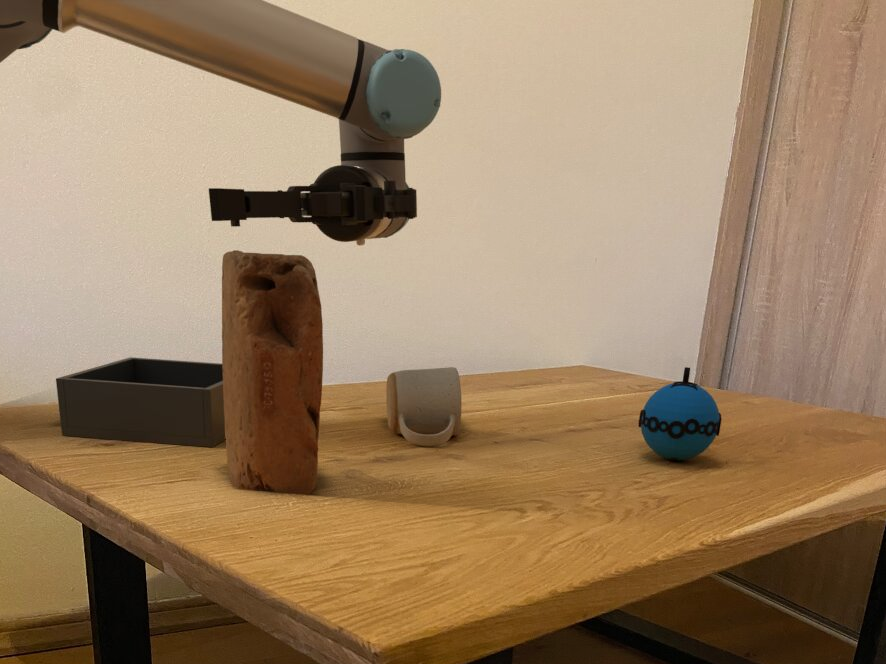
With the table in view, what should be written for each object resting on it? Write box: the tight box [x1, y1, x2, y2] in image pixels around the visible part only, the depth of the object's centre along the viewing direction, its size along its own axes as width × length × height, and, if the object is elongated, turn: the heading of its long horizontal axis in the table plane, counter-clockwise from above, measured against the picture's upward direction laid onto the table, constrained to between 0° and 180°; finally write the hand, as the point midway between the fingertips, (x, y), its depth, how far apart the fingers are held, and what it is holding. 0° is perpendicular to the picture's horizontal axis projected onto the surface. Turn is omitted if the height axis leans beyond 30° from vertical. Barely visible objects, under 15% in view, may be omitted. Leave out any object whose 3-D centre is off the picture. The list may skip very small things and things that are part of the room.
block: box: [221, 249, 324, 496], centre depth 80 cm, size 11×8×20 cm
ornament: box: [638, 366, 722, 462], centre depth 100 cm, size 9×9×10 cm
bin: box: [55, 356, 226, 448], centre depth 105 cm, size 17×18×6 cm
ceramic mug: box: [385, 366, 463, 447], centre depth 105 cm, size 11×8×8 cm
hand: (286, 204), depth 82 cm, fingers open, 13 cm apart
